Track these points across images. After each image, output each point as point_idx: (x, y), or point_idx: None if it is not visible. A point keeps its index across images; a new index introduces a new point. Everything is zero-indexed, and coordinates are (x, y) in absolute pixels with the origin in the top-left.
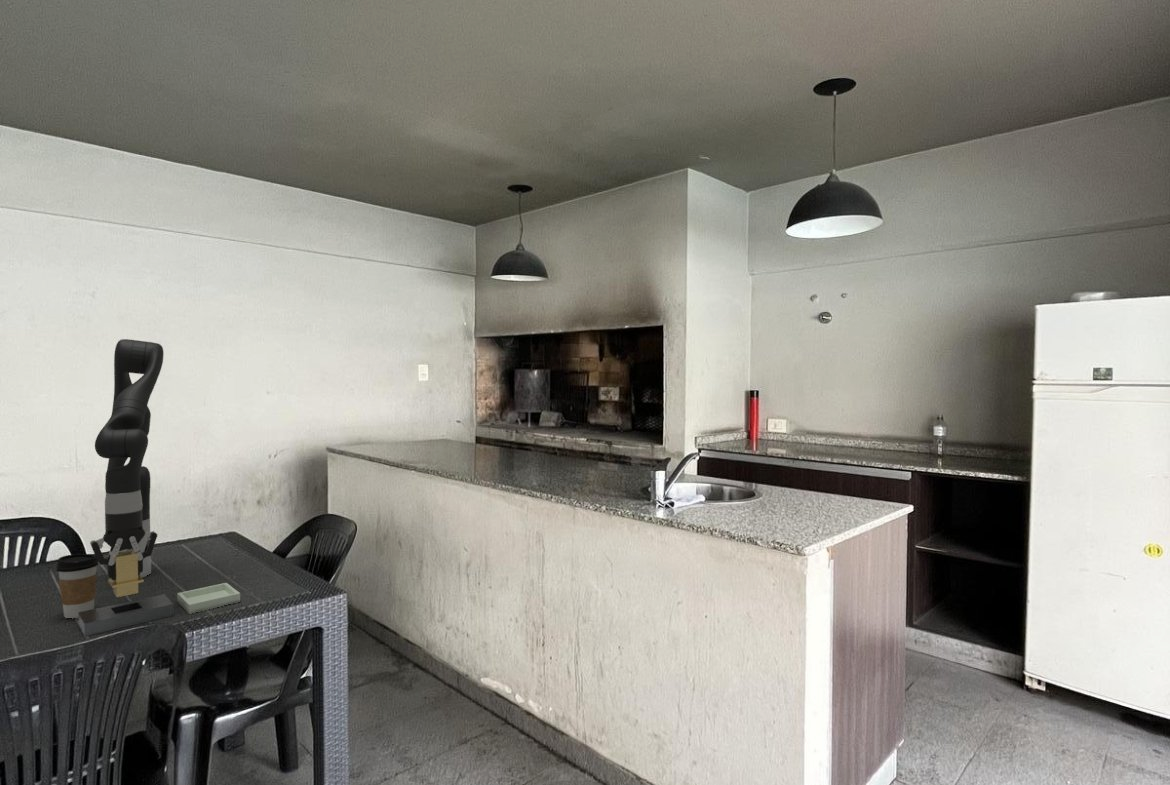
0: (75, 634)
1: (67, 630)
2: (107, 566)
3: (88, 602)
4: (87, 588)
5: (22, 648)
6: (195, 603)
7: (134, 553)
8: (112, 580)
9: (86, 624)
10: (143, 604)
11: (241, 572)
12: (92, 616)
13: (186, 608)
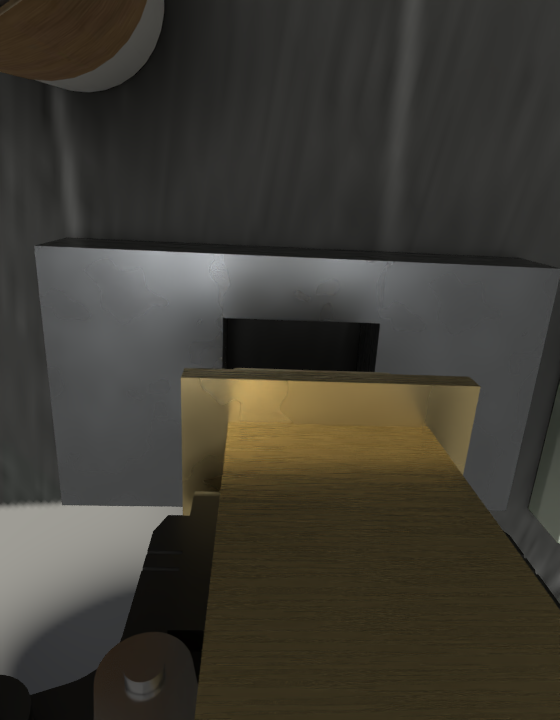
0: (49, 400)
1: (11, 300)
2: (124, 631)
3: (102, 63)
4: (45, 52)
5: None
6: None
7: None
8: (214, 456)
9: (74, 500)
10: None
11: None
12: (109, 406)
13: (549, 470)
